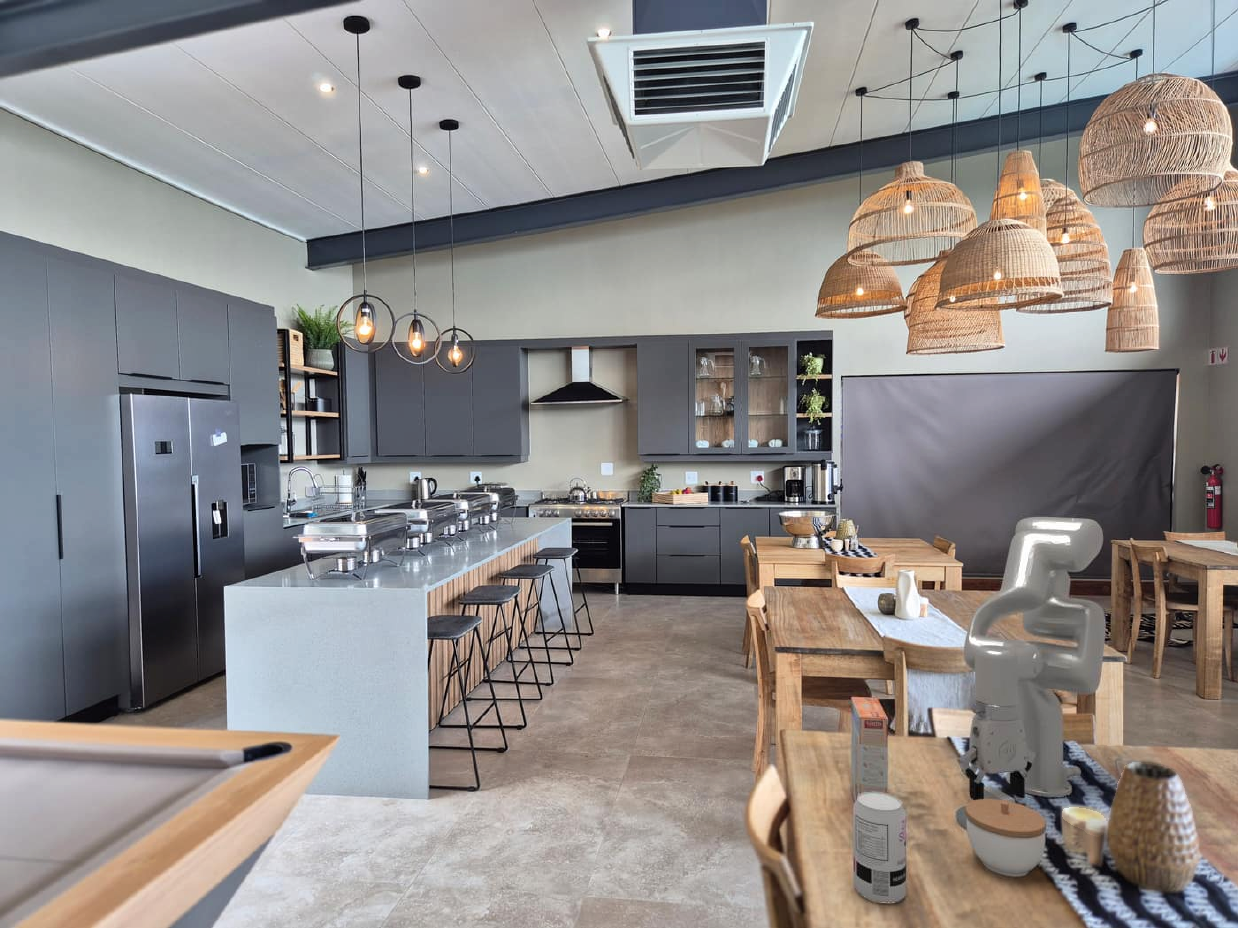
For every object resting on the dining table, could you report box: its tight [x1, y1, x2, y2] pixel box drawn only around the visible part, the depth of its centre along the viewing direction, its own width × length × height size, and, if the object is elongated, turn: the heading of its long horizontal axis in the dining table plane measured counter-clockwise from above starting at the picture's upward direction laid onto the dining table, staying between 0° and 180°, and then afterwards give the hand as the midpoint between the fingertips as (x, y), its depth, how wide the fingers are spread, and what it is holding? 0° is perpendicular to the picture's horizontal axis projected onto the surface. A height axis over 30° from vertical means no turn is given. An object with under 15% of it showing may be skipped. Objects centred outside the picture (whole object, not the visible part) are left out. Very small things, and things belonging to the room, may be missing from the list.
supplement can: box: [852, 792, 907, 903], centre depth 123 cm, size 8×8×15 cm
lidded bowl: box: [965, 799, 1047, 878], centre depth 131 cm, size 13×13×11 cm
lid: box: [955, 785, 1016, 831], centre depth 146 cm, size 15×15×6 cm
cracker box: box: [850, 696, 889, 803], centre depth 154 cm, size 14×6×21 cm, turn 168°
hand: (997, 798), depth 146 cm, fingers open, 9 cm apart
